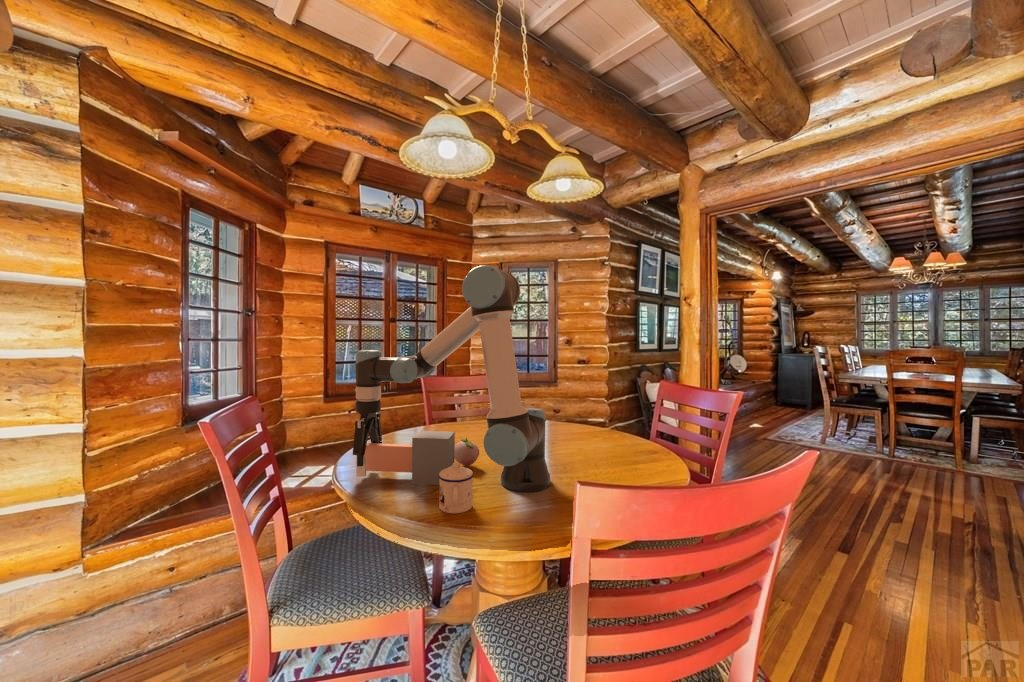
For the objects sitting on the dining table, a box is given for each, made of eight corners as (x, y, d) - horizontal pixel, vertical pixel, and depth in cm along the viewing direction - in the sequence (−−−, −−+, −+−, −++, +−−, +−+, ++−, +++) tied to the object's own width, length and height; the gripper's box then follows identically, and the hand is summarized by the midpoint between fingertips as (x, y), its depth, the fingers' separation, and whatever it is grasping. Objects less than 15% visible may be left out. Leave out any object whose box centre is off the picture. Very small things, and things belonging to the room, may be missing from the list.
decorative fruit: (447, 465, 142) (448, 436, 142) (468, 461, 147) (468, 433, 147) (462, 473, 135) (462, 442, 134) (483, 468, 140) (483, 438, 140)
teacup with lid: (439, 500, 113) (439, 458, 113) (472, 499, 114) (473, 457, 114) (436, 520, 101) (436, 473, 101) (473, 519, 102) (474, 472, 102)
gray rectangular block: (454, 474, 133) (454, 431, 133) (447, 485, 124) (448, 438, 124) (420, 473, 134) (420, 430, 134) (411, 483, 125) (411, 437, 125)
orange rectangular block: (416, 469, 131) (416, 444, 130) (413, 472, 128) (413, 446, 128) (365, 468, 132) (365, 443, 132) (361, 470, 129) (361, 445, 129)
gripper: (371, 393, 141) (370, 459, 142) (339, 405, 119) (339, 482, 120) (392, 394, 141) (392, 460, 141) (365, 405, 119) (364, 483, 119)
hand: (368, 470), depth 130 cm, fingers open, 9 cm apart
